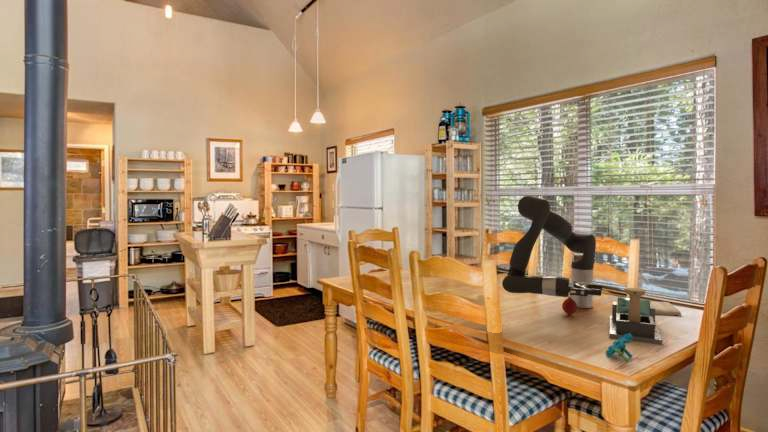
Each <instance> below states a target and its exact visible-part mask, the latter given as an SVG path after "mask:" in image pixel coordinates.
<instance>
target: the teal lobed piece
mask: <svg viewBox="0 0 768 432" xmlns="http://www.w3.org/2000/svg"><path fill="white" fill-rule="evenodd" d="M632 338H633V336H632V335H631V334H630V333H629V334H628V335H627V334H625V335H624V336H623V337H620V338H619V339H617V340H615V341H613V342H612V345H609V346H608V347H607V350H606V351H605V354H606V355H607V357H610V356H614V354H615V353H616V354H617V356H618V357H619V358H622V359H623V360H624V361H625V362H626V363H628V362H629V359H628V358H627V357H629V358H630V359H631V358H633V354H631V353H630V352H629V351H628V350H627V348H626V346H627V345H626V344H629V343H631V342H632V341H631V340H630V339H632ZM624 354H625V355H626V356H627V357H626V356H625V355H624Z"/></svg>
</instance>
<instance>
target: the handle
mask: <svg viewBox="0 0 768 432" xmlns="http://www.w3.org/2000/svg"><path fill="white" fill-rule="evenodd" d="M624 293H626V294H627V295H628V298H630V299H629V310H628V321H634V322H640V320H641V312H640V299H641V297H642V296H644V295H645V294H646V290H645V289H642V288H633V287H625V288H624Z"/></svg>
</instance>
